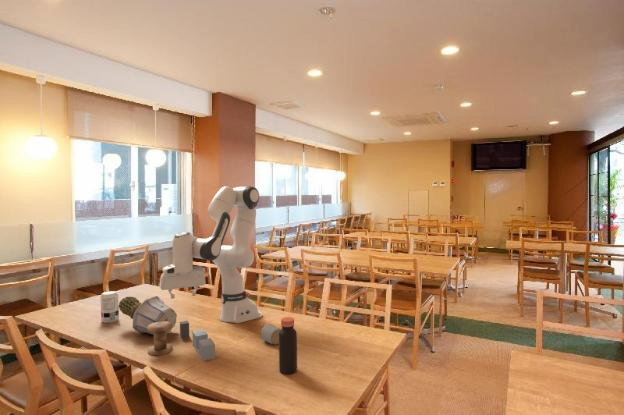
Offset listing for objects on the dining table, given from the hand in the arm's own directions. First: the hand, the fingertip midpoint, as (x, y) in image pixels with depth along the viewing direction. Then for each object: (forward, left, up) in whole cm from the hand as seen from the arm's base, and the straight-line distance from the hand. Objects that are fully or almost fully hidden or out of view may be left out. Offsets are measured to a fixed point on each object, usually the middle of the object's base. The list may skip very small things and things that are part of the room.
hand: (183, 296), depth 178 cm
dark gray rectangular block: (0, 0, -19) cm, 19 cm away
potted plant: (+15, -17, -20) cm, 30 cm away
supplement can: (+30, -43, -20) cm, 56 cm away
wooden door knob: (+12, +10, -19) cm, 25 cm away
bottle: (-28, +54, -19) cm, 64 cm away
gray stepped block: (-4, +20, -19) cm, 28 cm away
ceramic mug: (-35, +26, -20) cm, 48 cm away
